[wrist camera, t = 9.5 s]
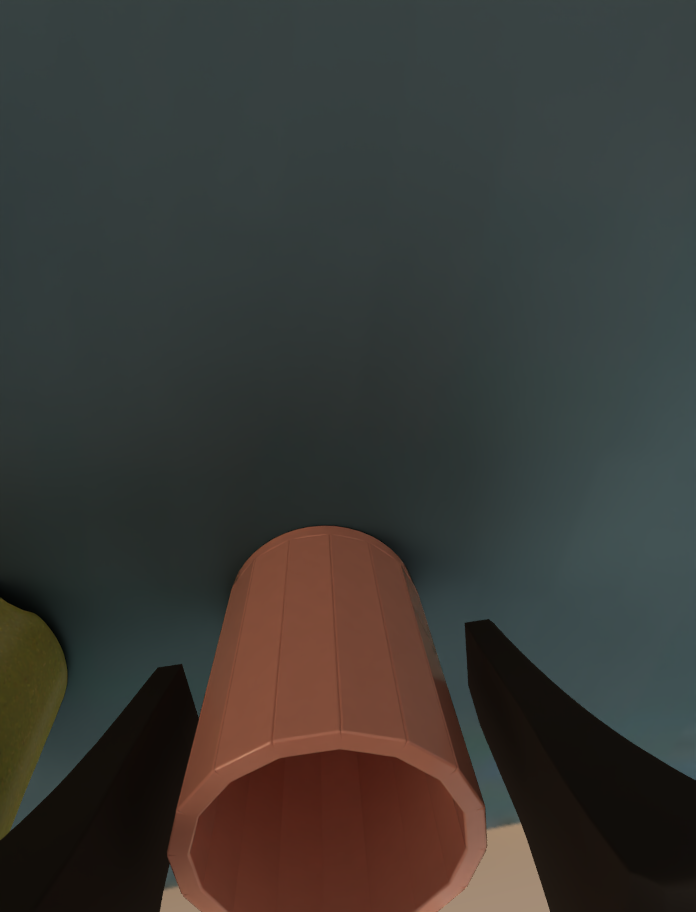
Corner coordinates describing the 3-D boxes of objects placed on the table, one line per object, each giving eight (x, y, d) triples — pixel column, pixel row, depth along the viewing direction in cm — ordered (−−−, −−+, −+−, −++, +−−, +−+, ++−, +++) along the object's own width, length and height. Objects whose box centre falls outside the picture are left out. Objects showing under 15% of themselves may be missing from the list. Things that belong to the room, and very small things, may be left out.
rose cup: (406, 511, 15) (481, 710, 8) (421, 665, 17) (491, 924, 10) (211, 540, 15) (129, 763, 8) (250, 691, 17) (209, 968, 10)
